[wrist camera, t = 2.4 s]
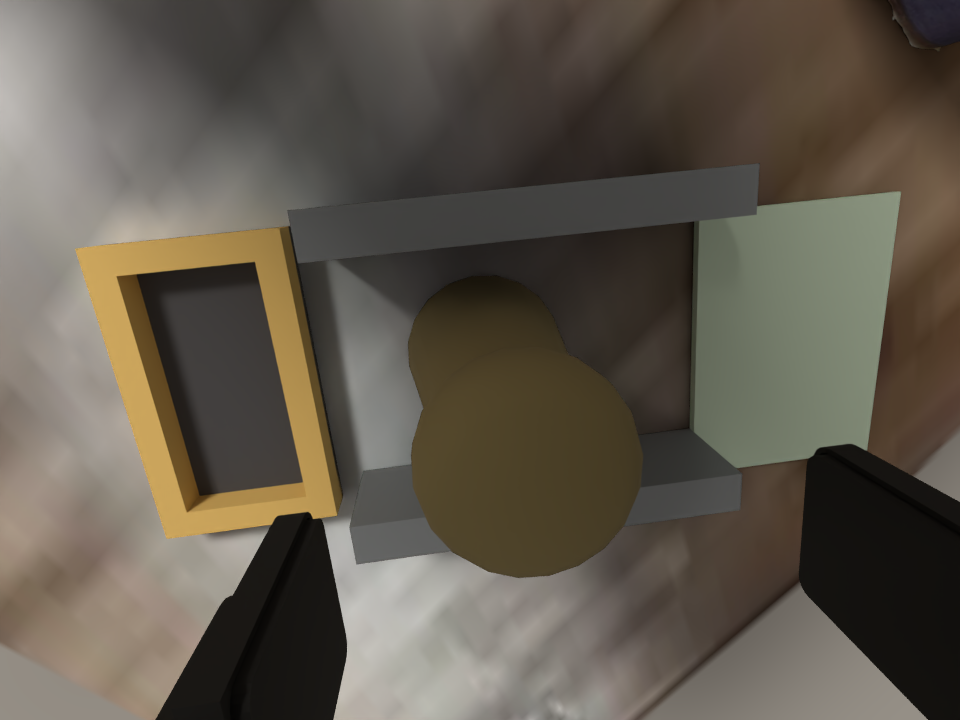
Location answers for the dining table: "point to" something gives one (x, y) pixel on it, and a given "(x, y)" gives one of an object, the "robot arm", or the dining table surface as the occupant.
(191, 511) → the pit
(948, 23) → the flask
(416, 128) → the dining table surface
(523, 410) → the cork
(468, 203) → the grey parallel walls
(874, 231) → the mat
